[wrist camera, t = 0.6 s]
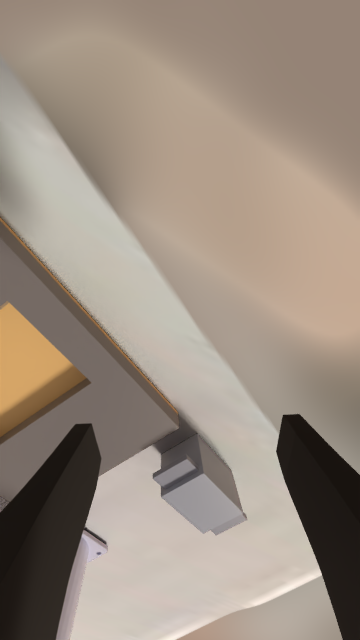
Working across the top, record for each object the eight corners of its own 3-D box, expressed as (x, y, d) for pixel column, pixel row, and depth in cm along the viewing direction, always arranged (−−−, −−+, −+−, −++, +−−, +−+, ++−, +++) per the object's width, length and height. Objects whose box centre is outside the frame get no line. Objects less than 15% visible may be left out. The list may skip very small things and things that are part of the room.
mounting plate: (40, 496, 24) (31, 516, 23) (-208, 323, 17) (-248, 334, 15) (178, 412, 22) (179, 428, 20) (-45, 168, 15) (-72, 161, 13)
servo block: (206, 496, 26) (213, 542, 22) (150, 443, 23) (148, 485, 19) (239, 478, 26) (252, 522, 22) (187, 421, 22) (191, 461, 19)
